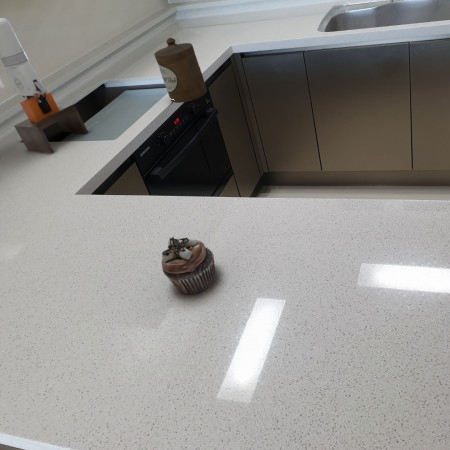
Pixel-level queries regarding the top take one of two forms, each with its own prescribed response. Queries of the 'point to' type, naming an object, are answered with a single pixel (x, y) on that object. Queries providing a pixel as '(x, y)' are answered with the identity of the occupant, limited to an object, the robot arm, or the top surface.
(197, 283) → the cupcake
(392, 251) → the top surface
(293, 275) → the top surface
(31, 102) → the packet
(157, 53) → the wooden container
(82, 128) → the shelf
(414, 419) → the top surface
